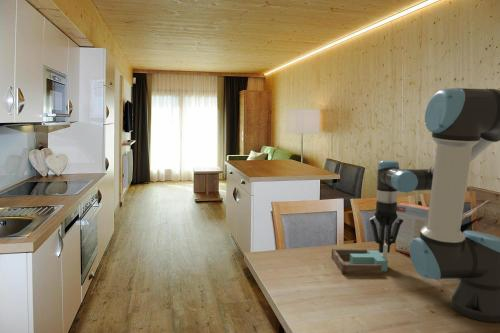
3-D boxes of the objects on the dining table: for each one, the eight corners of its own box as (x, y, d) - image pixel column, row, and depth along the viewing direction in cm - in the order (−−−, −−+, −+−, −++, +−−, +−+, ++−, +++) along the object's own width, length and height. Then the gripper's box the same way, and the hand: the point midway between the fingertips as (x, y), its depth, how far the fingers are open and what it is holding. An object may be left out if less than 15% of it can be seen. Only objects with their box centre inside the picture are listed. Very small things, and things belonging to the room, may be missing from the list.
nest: (381, 274, 142) (381, 265, 142) (342, 274, 142) (343, 265, 141) (365, 257, 160) (366, 249, 160) (331, 257, 160) (331, 249, 159)
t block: (387, 271, 145) (387, 261, 145) (355, 271, 145) (355, 260, 145) (376, 259, 157) (376, 250, 157) (347, 259, 157) (347, 250, 157)
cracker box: (432, 256, 162) (435, 207, 159) (424, 259, 158) (427, 209, 156) (401, 247, 173) (404, 201, 170) (393, 250, 169) (396, 203, 167)
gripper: (399, 199, 152) (396, 257, 155) (366, 198, 152) (364, 257, 155) (407, 203, 145) (404, 264, 147) (372, 203, 144) (370, 263, 147)
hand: (383, 260), depth 151 cm, fingers closed
